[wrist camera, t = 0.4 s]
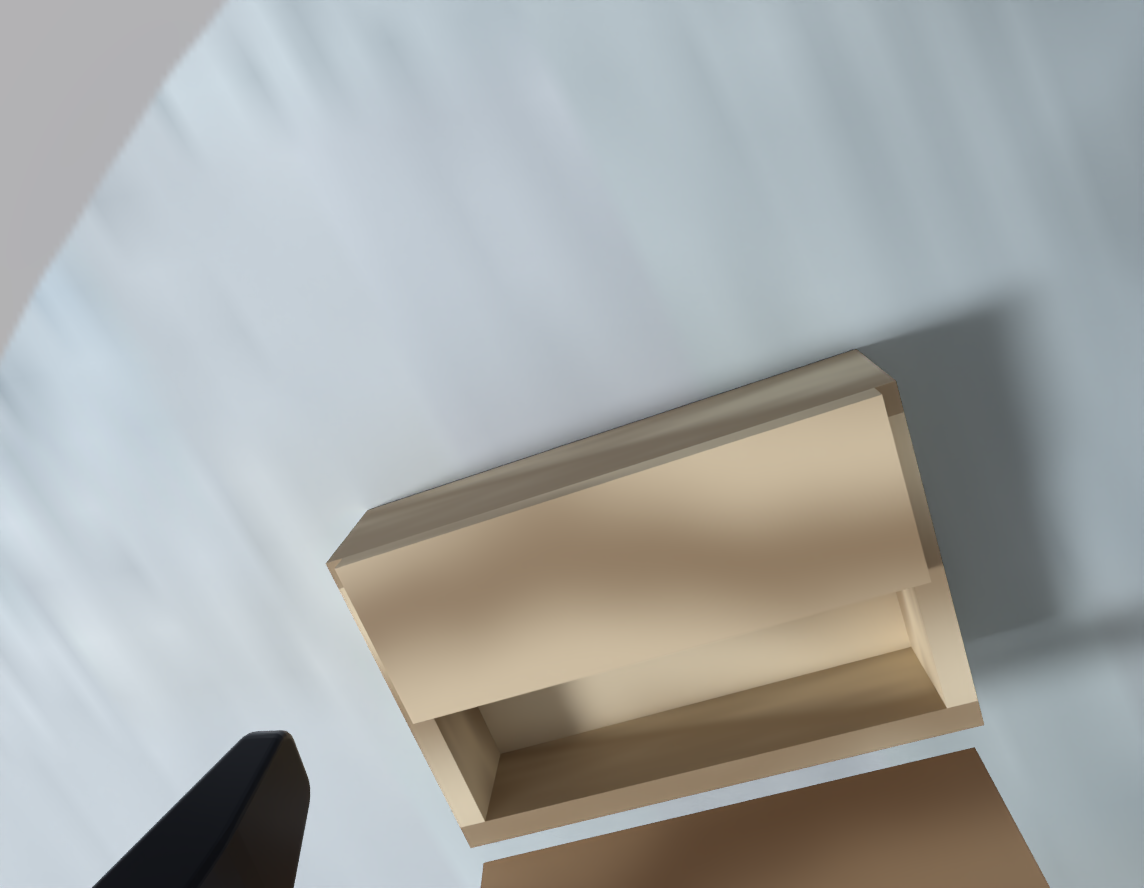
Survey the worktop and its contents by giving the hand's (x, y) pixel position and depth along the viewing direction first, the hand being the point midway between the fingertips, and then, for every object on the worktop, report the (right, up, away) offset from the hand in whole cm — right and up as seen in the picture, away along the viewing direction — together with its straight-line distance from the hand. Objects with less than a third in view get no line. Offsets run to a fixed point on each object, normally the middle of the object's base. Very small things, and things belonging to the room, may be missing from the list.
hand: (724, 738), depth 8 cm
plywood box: (+1, -1, +16) cm, 16 cm away
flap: (+2, -8, +12) cm, 15 cm away
